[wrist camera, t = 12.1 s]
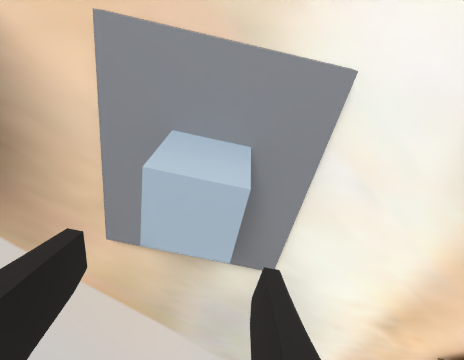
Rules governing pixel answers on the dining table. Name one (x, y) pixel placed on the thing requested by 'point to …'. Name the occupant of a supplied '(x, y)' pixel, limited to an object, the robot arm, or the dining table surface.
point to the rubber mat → (212, 120)
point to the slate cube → (195, 196)
